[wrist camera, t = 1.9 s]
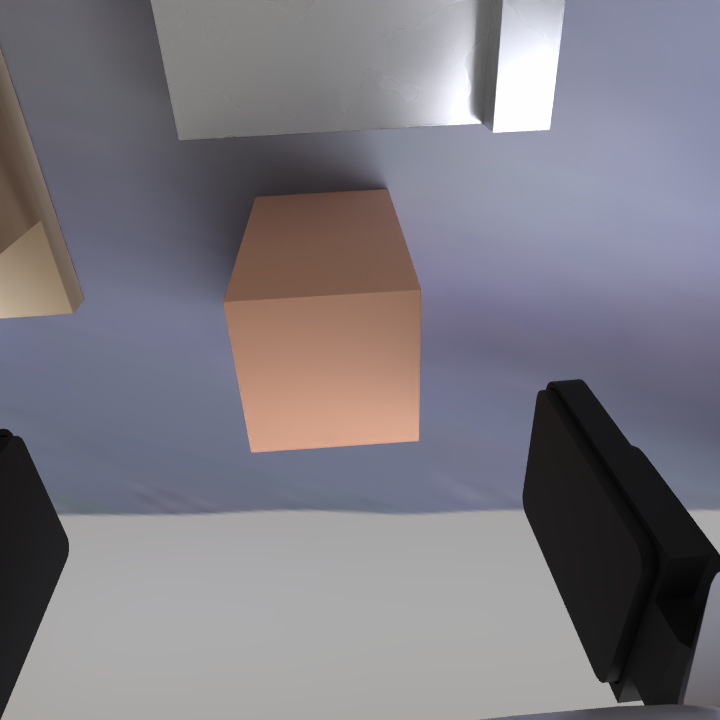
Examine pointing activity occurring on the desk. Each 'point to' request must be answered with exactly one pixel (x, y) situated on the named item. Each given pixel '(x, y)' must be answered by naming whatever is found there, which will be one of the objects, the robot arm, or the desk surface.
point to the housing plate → (357, 64)
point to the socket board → (29, 225)
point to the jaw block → (325, 322)
